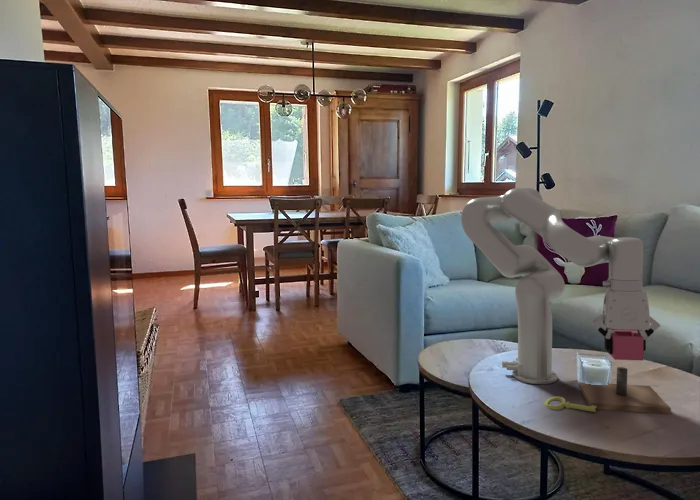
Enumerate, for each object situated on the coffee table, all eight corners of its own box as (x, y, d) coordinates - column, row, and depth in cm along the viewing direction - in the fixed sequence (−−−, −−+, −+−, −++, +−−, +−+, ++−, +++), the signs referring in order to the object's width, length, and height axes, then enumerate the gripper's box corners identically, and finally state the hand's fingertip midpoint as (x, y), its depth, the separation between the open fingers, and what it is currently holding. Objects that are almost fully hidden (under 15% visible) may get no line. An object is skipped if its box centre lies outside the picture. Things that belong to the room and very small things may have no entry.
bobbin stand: (590, 408, 121) (591, 376, 120) (578, 386, 135) (579, 358, 134) (670, 414, 117) (671, 380, 116) (649, 391, 131) (650, 361, 130)
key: (597, 416, 118) (597, 408, 118) (544, 410, 123) (544, 402, 122) (594, 404, 125) (594, 397, 124) (544, 399, 129) (544, 391, 129)
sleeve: (614, 359, 122) (614, 336, 121) (607, 351, 128) (607, 329, 128) (643, 360, 120) (643, 337, 120) (634, 352, 127) (634, 330, 126)
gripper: (592, 288, 121) (592, 356, 123) (669, 288, 117) (668, 358, 118) (585, 283, 128) (585, 347, 130) (657, 282, 124) (656, 349, 126)
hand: (624, 352), depth 124 cm, fingers closed on sleeve, 6 cm apart
